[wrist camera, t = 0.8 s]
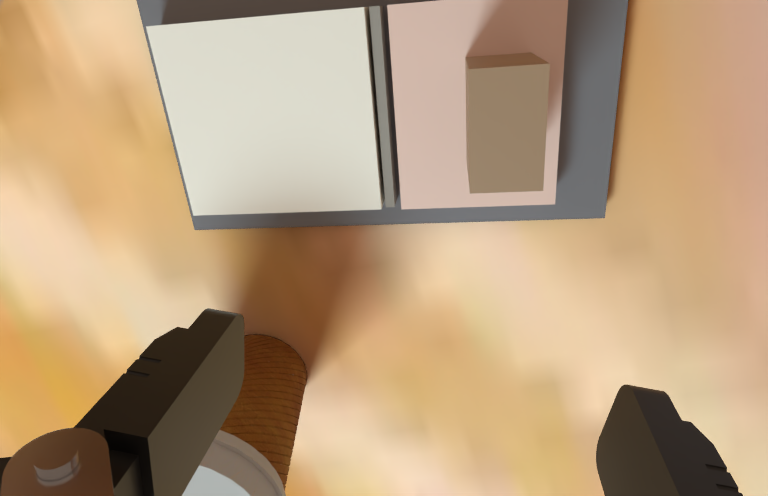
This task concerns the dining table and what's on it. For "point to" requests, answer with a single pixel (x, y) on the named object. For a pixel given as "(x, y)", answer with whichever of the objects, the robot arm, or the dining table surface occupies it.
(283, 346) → the disposable coffee cup
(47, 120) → the dining table surface
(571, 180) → the ticket base
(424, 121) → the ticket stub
